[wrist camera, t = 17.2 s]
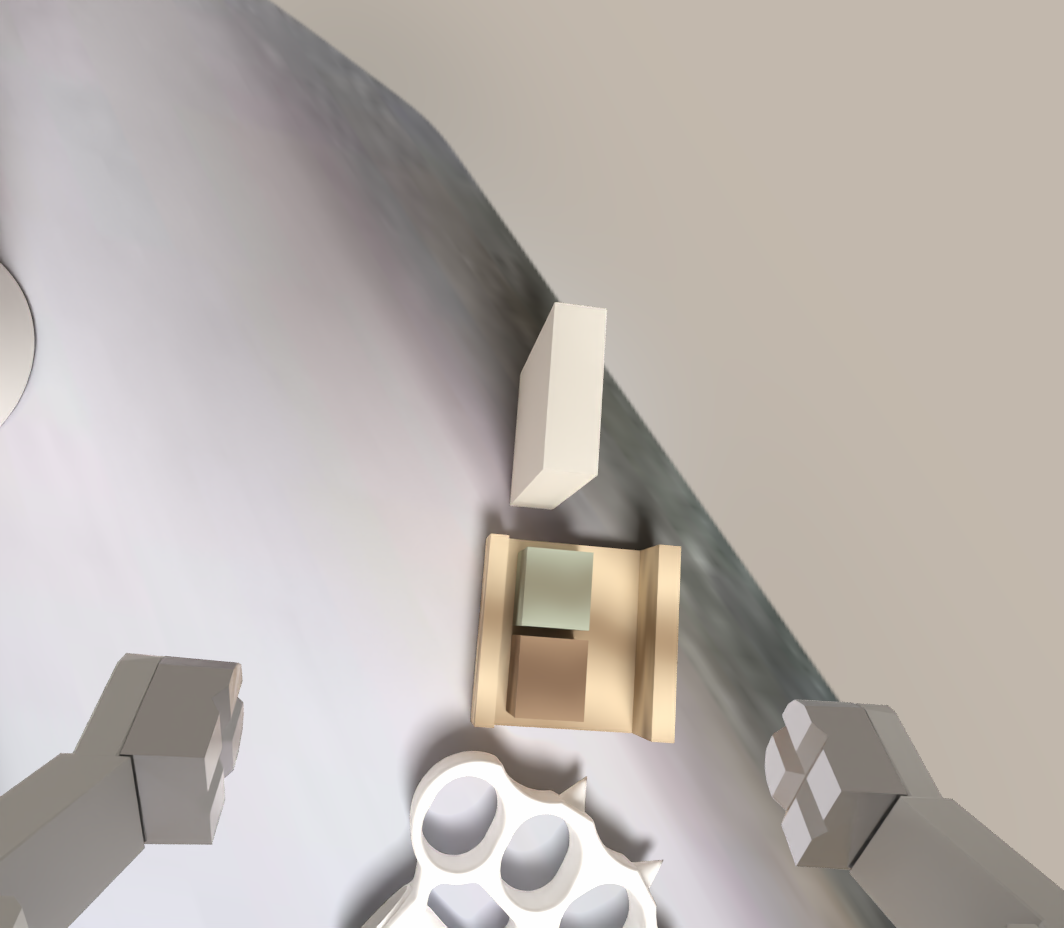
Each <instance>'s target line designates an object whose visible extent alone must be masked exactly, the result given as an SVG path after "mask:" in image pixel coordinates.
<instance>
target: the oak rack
mask: <svg viewBox="0 0 1064 928" xmlns="http://www.w3.org/2000/svg"><path fill="white" fill-rule="evenodd" d="M526 547H537V548H548V549H558V550H569V551H580V552H591V553H594V555H593V572H592V589H591V607H590V624H589V631H583V630H563V629H550V628H537V627H524V626H512V624H513V611H514V598H515V585H516V572H517V559H518V552H520V551H522V550H523V549H525V548H526ZM680 563H681V547H679V546H669V545H657V546H654V547H650V548H647V549H644V550H641V551H638V550H627V549H616V548H605V547H595V546H584V545H573V544H562V543H551V542H541V541H530V540H519V539H509V535H501V534H490V535H489V536H488V537H487V538H486V547H485V558H484V570H483V581H482V593H481V605H480V616H479V628H478V640H477V651H476V663H475V674H474V686H473V698H472V709H471V723H472V724H473V725H474V727H486V728H494V725H506V726H523V727H540V728H556V729H573V730H590V731H607V732H624V733H633V734H635V735H638V736H640V737H642V738H644V739H647V740H649V741H651V742H665V743H674V737H675V708H676V679H677V650H678V621H679V592H680ZM512 635H522V636H535V637H549V638H562V639H575V640H588V641H589V642H588V659H587V676H586V694H585V711H584V722H575V721H558V720H542V719H526V718H514V717H513V716H512V715H511V714H509V713H508V712H507V711H506V701H507V688H508V675H509V663H510V650H511V637H512Z"/></svg>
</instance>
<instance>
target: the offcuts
mask: <svg viewBox="0 0 1064 928" xmlns="http://www.w3.org/2000/svg"><path fill="white" fill-rule="evenodd" d="M593 555H594V553H591V552H580V551H569V550H558V549H548V548H537V547H526V548H525V549H523V550H522V551H520V552H518V559H517V572H516V585H515V598H514V611H513V624H512V626H524V627H537V628H550V629H563V630H583V631H589V624H590V607H591V589H592V572H593ZM588 642H589V641H588V640H575V639H562V638H549V637H535V636H522V635H512V637H511V650H510V663H509V675H508V688H507V701H506V711H507V712H508V713H509V714H511V715H512V716H513V717H514V718H526V719H542V720H558V721H575V722H584V711H585V694H586V676H587V659H588Z"/></svg>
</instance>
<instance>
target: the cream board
mask: <svg viewBox="0 0 1064 928" xmlns="http://www.w3.org/2000/svg"><path fill="white" fill-rule="evenodd" d="M606 318H607V309H603V308H595V307H588V306H581V305H574V304H566V303H559V302H555V303H554V305H553V307H552V309H551V311H550V313H549V316H548V318H547V320H546V322H545V324H544V326H543V328H542V330H541V332H540V334H539V336H538V338H537V340H536V343H535V345H534V347H533V349H532V351H531V353H530V355H529V357H528V359H527V361H526V363H525V365H524V367H523V369H522V372H521V374H520V384H519V397H518V409H517V422H516V434H515V447H514V459H513V472H512V484H511V497H510V506H519V507H529V508H539V509H549V510H553V509H554V508H555V507H557V506H558V505H559V504H560V503H562V502H563V501H564V500H566V499H567V498H568V497H570V496H571V495H572V494H573V493H575V492H576V491H577V490H579V489H580V488H581V487H583V486H584V485H585V484H586V483H588V482H589V481H590V480H592V479H593V478H594V477H596V476H597V475H598V459H599V441H600V424H601V406H602V389H603V371H604V353H605V336H606Z"/></svg>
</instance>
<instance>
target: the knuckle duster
mask: <svg viewBox="0 0 1064 928" xmlns="http://www.w3.org/2000/svg"><path fill="white" fill-rule="evenodd" d="M463 776H475V777H479V778H482V779H484V780H486V781H487V782H489V783H490V784H491V785H492V786H493V787H494V788H495V791H496V795H497V810H496V814H495V817H494V819H493V821H492V823H491V825H490V827H489V829H488V831H487V833H486V835H485V836H484V838H483V839H482V841H481V842H480V843H479V844H478V845H477V846H476V847H475V848H473V849H472V850H470V851H468V852H466V853H463V854H459V855H448V854H444V853H441V852H439V851H437V850H436V849H434V848H433V847H432V846H431V845H430V844H429V843H428V842H427V840H426V839H425V837H424V835H423V832H422V825H423V820H424V817H425V815H426V813H427V811H428V809H429V807H430V805H431V803H432V802H433V800H434V798H435V796H436V794H437V793H438V792H439V790H440V789H441V788H442V787H443V786H444V785H445V784H447V783H448V782H450V781H451V780H453V779H456V778H458V777H463ZM586 782H587V776H586V777H585V778H583V779H582V780H580V781H579V782H577V783H576V784H574V785H573V786H571V787H570V788H568V789H567V790H565V791H564V792H563V793H561V794H560V795H559V794H557V793H556V792H554V791H552V790H535V789H531V788H528V787H525V786H523V785H521V784H519V783H518V782H516V781H515V780H513V779H512V778H511V777H510V776H509V775H508V774H507V772H506V771H505V769H504V767H503V764H502V763H501V762H500V761H499V759H498V758H497V757H496V756H495V755H493V754H490V753H486V752H482V751H464V752H459V753H455V754H452V755H450V756H448V757H446V758H444V759H442V760H441V761H439V762H438V763H436V764H435V765H434V766H433V767H432V768H431V769H430V770H429V771H428V772H427V773H426V774H425V775H424V777H423V778H422V779H421V781H420V783H419V784H418V786H417V788H416V790H415V793H414V796H413V799H412V803H411V808H410V831H411V841H412V846H413V850H414V853H415V856H416V858H417V865H416V870H415V875H414V878H413V880H412V881H411V882H410V883H409V884H406V885H404V886H403V887H402V888H400V889H399V890H398V891H397V892H396V893H394V894H393V895H392V896H391V897H390V898H389V899H388V900H387V901H386V902H385V903H384V904H383V905H382V906H381V907H380V908H379V909H378V910H377V911H376V912H375V913H374V914H373V915H372V916H371V917H370V918H369V919H368V920H367V921H366V922H365V923H364V925H363V926H362V927H361V928H448V927H447V926H446V925H445V924H444V923H443V922H442V921H441V920H440V919H439V917H438V916H437V915H436V914H435V913H434V912H433V911H432V910H431V909H430V907H429V906H428V905H427V902H428V897H429V894H430V892H431V890H432V889H433V888H434V887H435V886H436V885H438V884H442V883H447V884H466V883H470V882H475V883H478V884H480V885H481V886H482V887H483V888H484V889H485V890H486V891H487V892H488V894H489V895H490V896H491V897H492V898H493V899H494V900H495V901H496V902H497V904H498V905H499V906H500V907H501V908H502V909H503V910H504V911H505V912H506V914H507V915H508V916H509V917H510V919H509V922H508V924H507V926H506V927H505V928H559V926H560V922H561V918H562V916H563V914H564V912H565V910H566V908H567V907H568V906H569V905H570V903H571V902H572V901H574V900H575V899H576V898H577V897H579V896H580V895H582V894H584V893H585V892H587V891H589V890H590V889H592V888H594V887H596V886H598V885H601V884H606V883H613V884H618V885H621V886H623V887H625V888H626V890H627V893H628V898H629V912H628V916H627V919H626V922H625V924H624V926H623V927H622V928H658V927H657V920H656V903H655V901H654V899H653V897H652V895H651V893H650V891H649V888H650V886H651V884H652V882H653V880H654V878H655V876H656V874H657V872H658V870H659V868H660V866H661V864H662V862H663V860H655V861H643V862H631V861H630V860H629V859H628V858H626V857H625V856H624V855H623V854H622V853H618V852H616V851H613V850H611V849H609V848H608V847H606V846H605V845H604V844H603V843H602V841H601V840H600V838H599V835H598V833H597V830H596V827H595V823H594V820H593V819H592V818H591V817H590V816H589V815H588V814H587V813H585V798H586ZM539 814H552V815H556V816H558V817H561V818H562V819H564V820H565V822H566V824H567V827H568V830H569V847H568V851H567V854H566V856H565V858H564V860H563V862H562V864H561V866H560V868H559V870H558V872H557V874H556V875H555V877H554V878H553V879H552V880H551V881H550V882H549V883H548V884H546V885H545V886H543V887H542V888H539V889H537V890H532V891H522V890H518V889H515V888H513V887H511V886H509V885H508V884H507V883H506V882H505V881H504V880H503V879H502V878H501V872H500V867H501V860H502V857H503V854H504V851H505V849H506V847H507V845H508V843H509V842H510V840H511V838H512V836H513V834H514V832H515V831H516V829H517V828H518V827H519V826H520V825H521V824H522V823H523V822H524V821H525V820H527V819H529V818H531V817H533V816H535V815H539Z"/></svg>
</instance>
